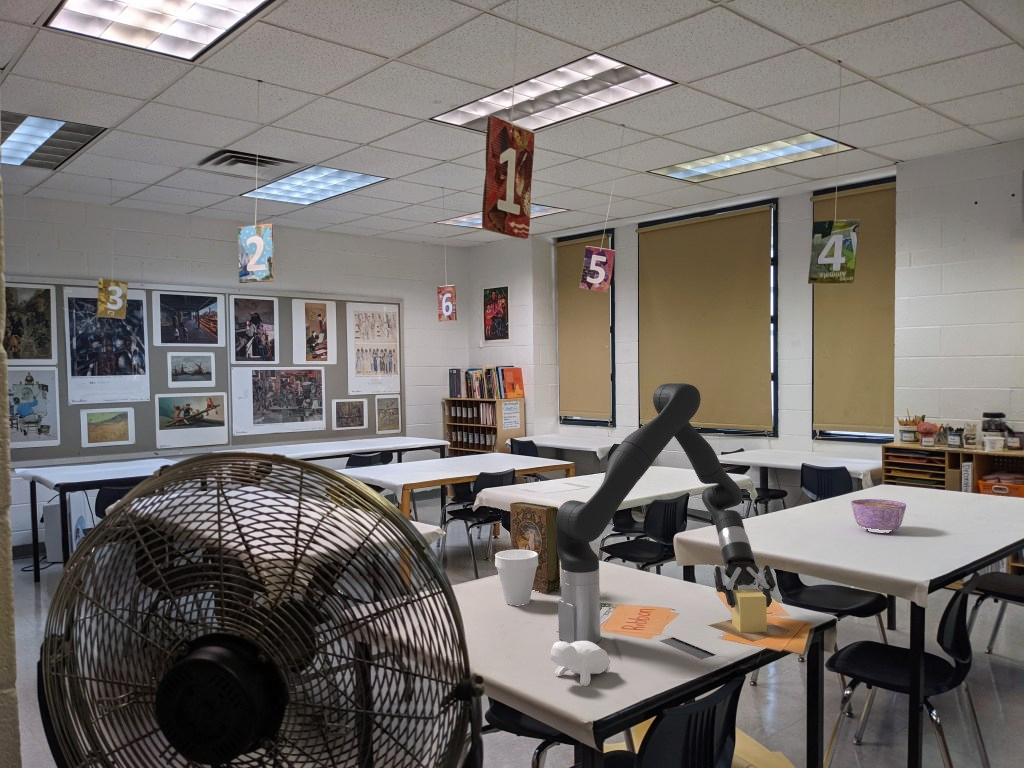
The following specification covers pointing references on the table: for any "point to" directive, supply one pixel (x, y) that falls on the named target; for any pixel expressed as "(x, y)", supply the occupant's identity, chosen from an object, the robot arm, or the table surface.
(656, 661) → the table surface
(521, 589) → the cup
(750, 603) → the yellow block
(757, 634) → the board
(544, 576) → the book
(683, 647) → the mat
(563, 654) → the white animal figurine
